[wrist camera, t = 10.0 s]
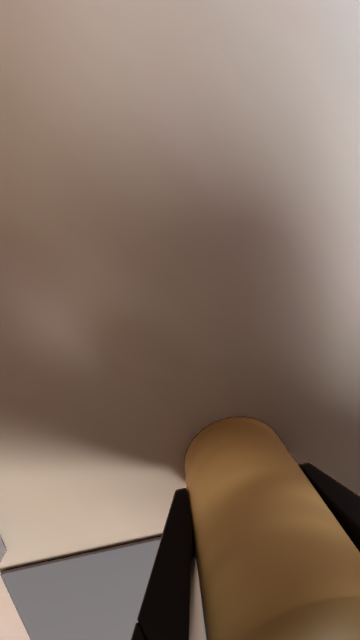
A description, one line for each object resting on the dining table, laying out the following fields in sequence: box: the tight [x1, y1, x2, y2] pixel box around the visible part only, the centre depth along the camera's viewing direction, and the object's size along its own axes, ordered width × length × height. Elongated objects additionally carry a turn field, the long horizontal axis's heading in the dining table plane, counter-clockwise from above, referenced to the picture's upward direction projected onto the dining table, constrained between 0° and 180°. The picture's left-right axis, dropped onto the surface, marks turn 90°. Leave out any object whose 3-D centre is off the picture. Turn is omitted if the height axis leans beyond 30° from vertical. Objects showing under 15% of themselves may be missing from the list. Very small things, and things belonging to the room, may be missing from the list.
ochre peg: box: [184, 417, 360, 640], centre depth 7 cm, size 4×4×5 cm
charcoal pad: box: [0, 537, 206, 640], centre depth 11 cm, size 8×8×1 cm
